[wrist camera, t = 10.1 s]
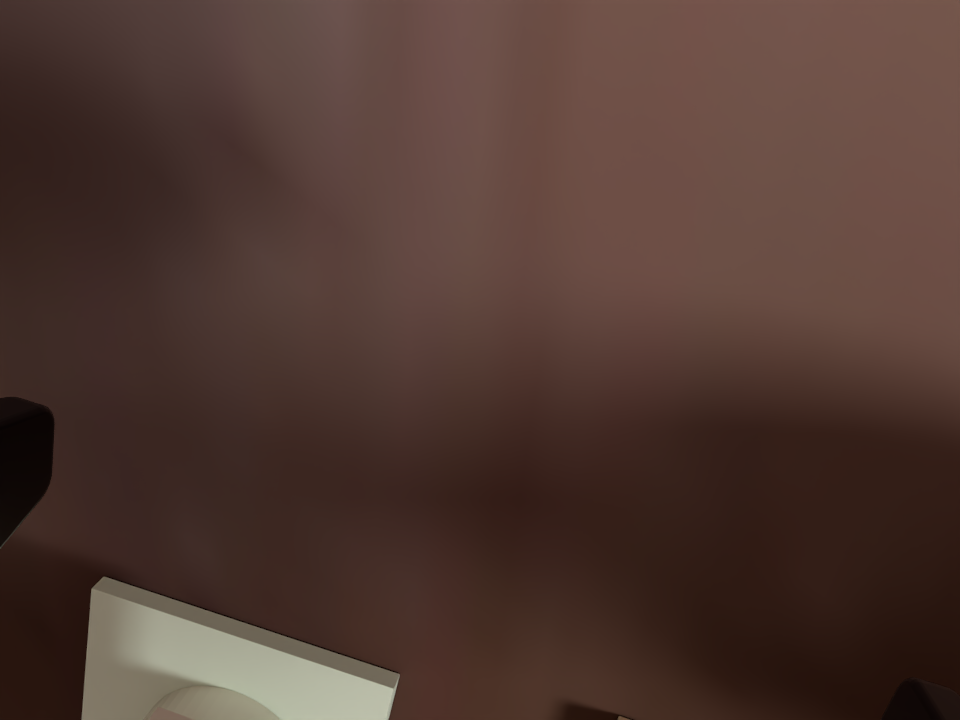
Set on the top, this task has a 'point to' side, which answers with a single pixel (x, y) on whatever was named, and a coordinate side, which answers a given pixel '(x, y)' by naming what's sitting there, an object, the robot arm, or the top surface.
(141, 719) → the sage coaster
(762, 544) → the top surface
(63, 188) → the top surface
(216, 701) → the cream jug
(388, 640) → the top surface
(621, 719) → the oak cradle
